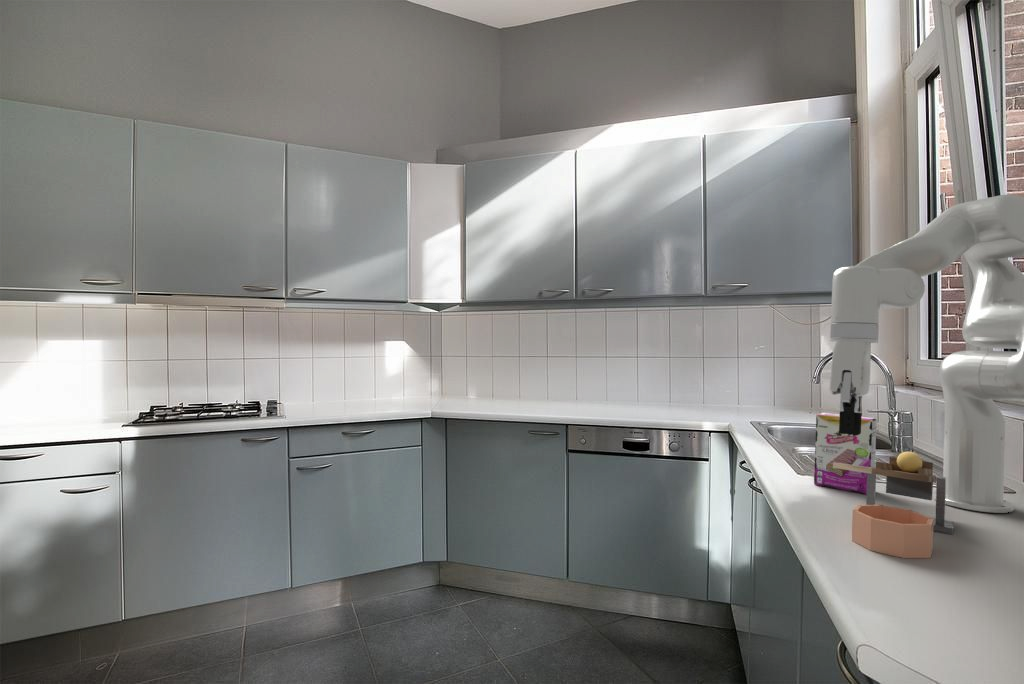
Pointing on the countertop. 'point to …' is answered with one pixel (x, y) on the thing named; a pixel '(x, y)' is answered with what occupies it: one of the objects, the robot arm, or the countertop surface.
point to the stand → (939, 521)
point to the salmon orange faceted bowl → (893, 531)
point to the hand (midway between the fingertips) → (849, 433)
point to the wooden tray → (900, 478)
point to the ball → (909, 462)
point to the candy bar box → (843, 453)
